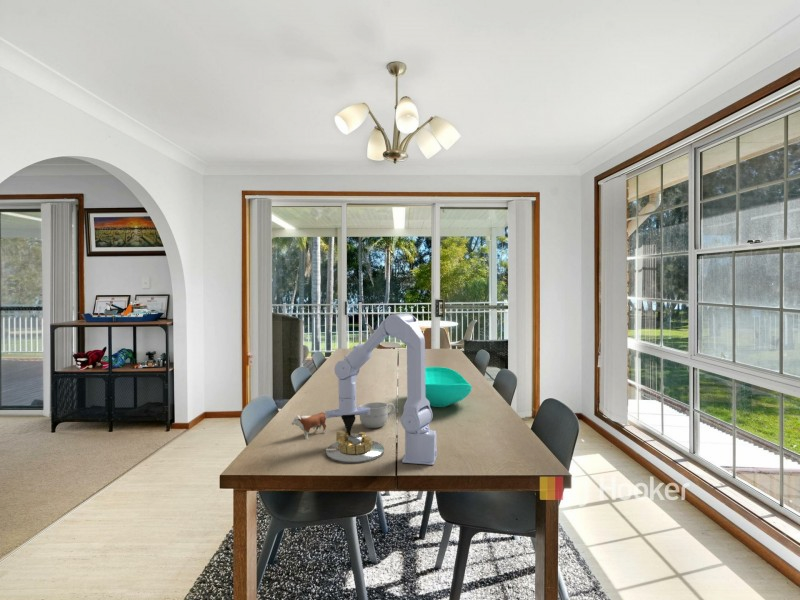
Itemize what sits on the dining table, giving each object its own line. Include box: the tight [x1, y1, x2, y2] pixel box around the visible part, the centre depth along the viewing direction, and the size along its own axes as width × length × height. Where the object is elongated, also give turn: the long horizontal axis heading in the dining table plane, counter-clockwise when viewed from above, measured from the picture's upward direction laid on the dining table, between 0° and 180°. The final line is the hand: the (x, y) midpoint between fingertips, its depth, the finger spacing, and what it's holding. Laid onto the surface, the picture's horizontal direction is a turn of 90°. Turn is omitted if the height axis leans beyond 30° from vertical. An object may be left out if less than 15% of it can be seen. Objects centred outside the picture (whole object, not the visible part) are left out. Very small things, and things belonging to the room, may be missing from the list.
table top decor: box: [425, 366, 473, 408], centre depth 200 cm, size 40×28×13 cm
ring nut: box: [335, 429, 373, 454], centre depth 146 cm, size 10×14×3 cm
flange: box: [325, 434, 385, 464], centre depth 144 cm, size 18×18×5 cm
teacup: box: [358, 401, 396, 429], centre depth 171 cm, size 14×11×8 cm
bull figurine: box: [291, 412, 327, 440], centre depth 160 cm, size 4×13×8 cm, turn 135°
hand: (348, 437), depth 150 cm, fingers closed, pressing on ring nut
